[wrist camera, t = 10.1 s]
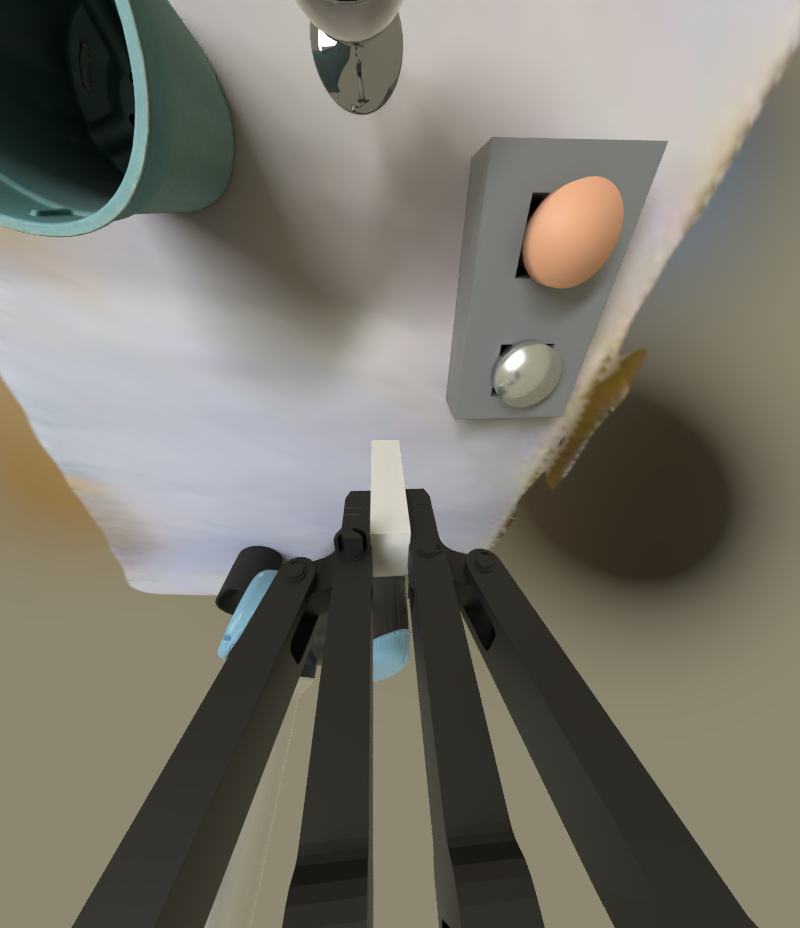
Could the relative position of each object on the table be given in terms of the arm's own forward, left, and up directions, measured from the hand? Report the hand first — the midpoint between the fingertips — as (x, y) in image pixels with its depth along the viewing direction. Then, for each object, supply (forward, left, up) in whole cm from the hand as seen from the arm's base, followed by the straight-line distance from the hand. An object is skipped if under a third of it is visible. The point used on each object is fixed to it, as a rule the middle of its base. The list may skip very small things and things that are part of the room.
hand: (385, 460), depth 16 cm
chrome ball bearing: (-2, -16, -23) cm, 28 cm away
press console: (+4, -16, -25) cm, 30 cm away
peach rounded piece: (+10, -16, -22) cm, 29 cm away
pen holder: (-43, +27, -25) cm, 56 cm away
